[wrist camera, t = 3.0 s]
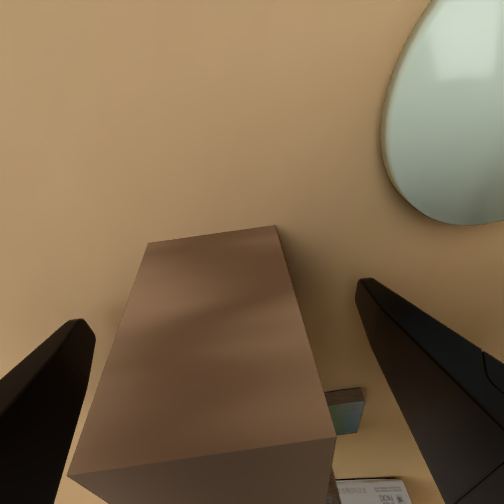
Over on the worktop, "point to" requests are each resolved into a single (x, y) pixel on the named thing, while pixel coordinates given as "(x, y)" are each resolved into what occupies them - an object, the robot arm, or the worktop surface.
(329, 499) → the balance
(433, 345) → the robot arm
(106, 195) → the worktop surface
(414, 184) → the dish
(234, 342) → the block walnut
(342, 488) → the tea box
